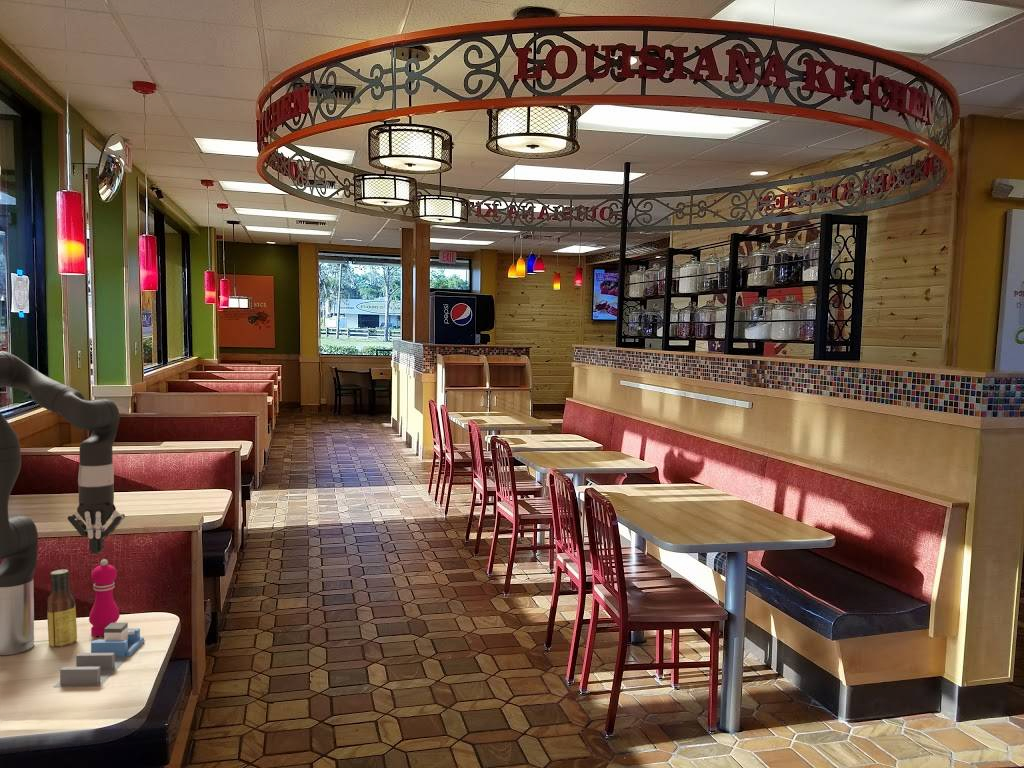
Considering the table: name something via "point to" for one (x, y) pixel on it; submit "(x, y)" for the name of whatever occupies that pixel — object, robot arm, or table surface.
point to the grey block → (116, 631)
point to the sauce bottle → (61, 611)
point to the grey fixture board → (100, 661)
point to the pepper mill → (103, 598)
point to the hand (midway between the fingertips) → (96, 552)
